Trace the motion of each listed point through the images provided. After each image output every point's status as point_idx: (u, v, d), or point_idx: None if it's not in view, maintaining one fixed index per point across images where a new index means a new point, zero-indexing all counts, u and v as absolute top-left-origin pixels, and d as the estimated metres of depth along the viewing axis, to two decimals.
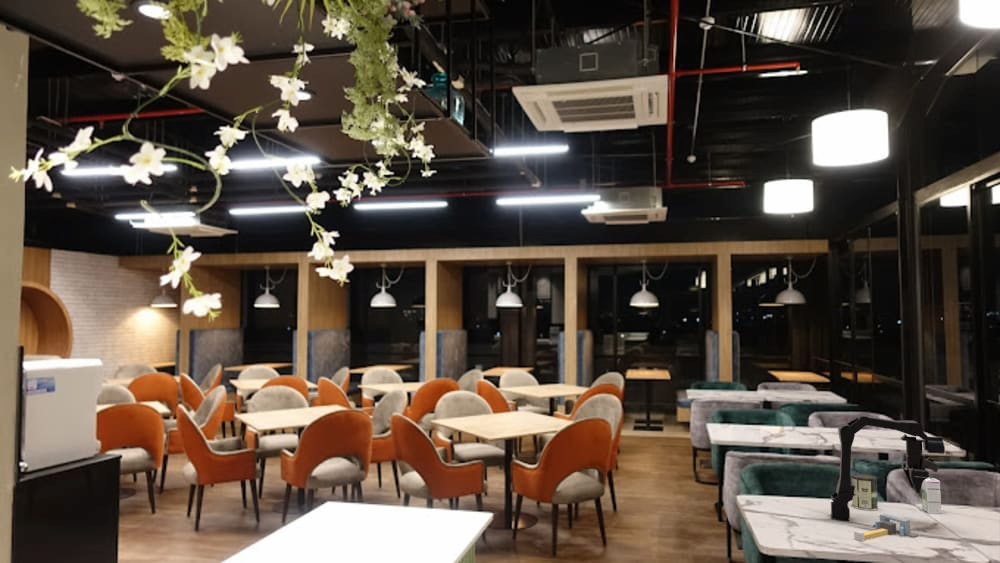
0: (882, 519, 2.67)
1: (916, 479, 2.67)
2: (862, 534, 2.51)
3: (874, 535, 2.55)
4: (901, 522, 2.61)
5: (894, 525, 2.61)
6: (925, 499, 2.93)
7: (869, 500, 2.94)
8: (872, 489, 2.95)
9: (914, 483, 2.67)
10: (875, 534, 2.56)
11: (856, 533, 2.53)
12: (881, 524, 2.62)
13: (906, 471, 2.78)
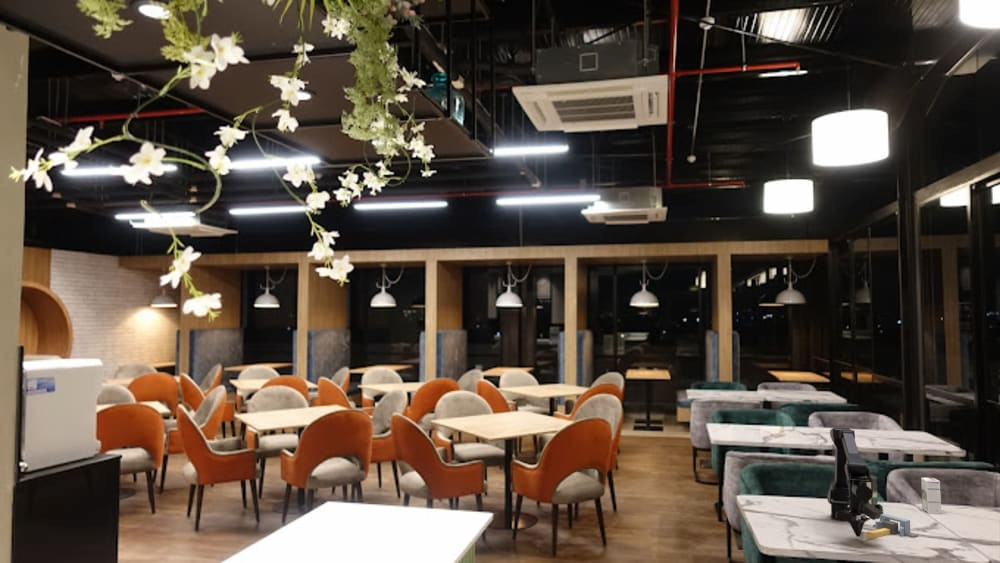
0: (882, 519, 2.67)
1: (853, 521, 2.53)
2: (864, 533, 2.52)
3: (876, 534, 2.56)
4: (901, 522, 2.61)
5: (896, 525, 2.61)
6: (925, 499, 2.93)
7: (869, 500, 2.94)
8: (872, 489, 2.95)
9: (851, 525, 2.53)
10: (877, 534, 2.56)
11: None
12: (883, 523, 2.63)
13: None
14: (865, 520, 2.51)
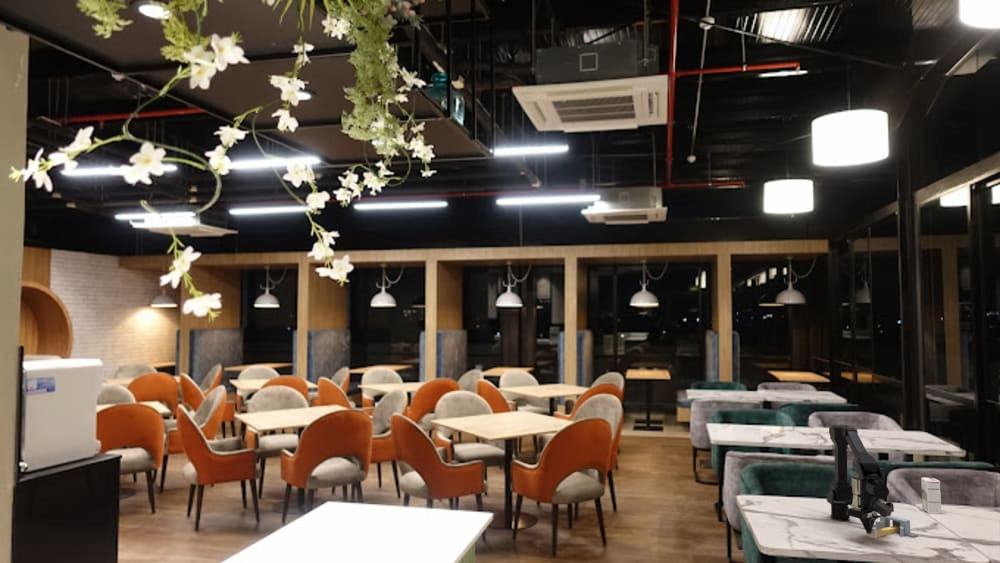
0: (882, 519, 2.67)
1: (864, 519, 2.56)
2: (875, 531, 2.55)
3: (886, 532, 2.59)
4: (901, 522, 2.61)
5: None
6: (925, 499, 2.93)
7: None
8: None
9: (862, 522, 2.56)
10: (888, 531, 2.60)
11: None
12: (893, 521, 2.66)
13: None
14: (876, 517, 2.54)
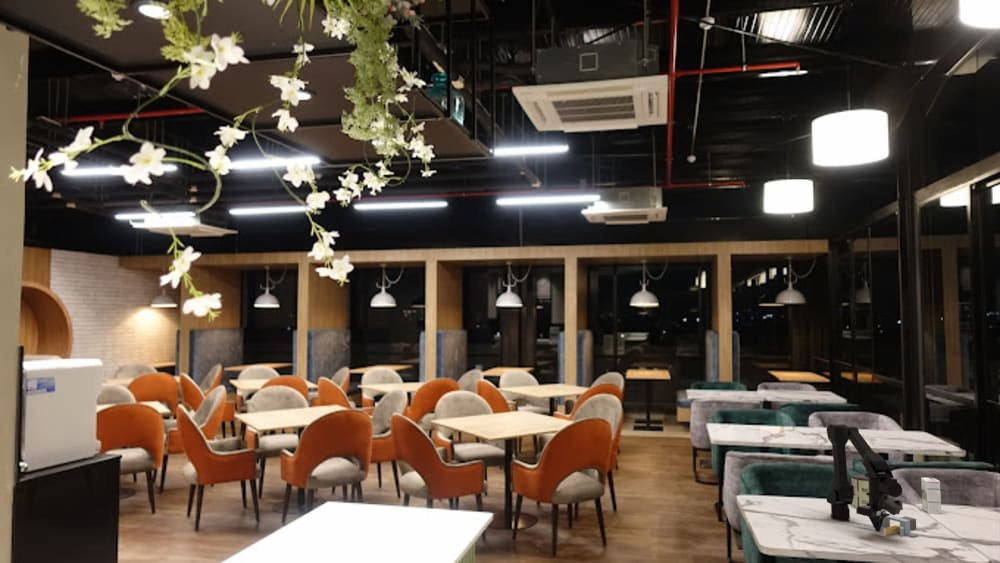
0: None
1: (873, 517, 2.59)
2: (884, 529, 2.58)
3: (895, 530, 2.62)
4: (901, 522, 2.61)
5: (914, 520, 2.67)
6: (925, 499, 2.93)
7: None
8: None
9: (871, 520, 2.59)
10: (896, 529, 2.62)
11: None
12: None
13: None
14: (885, 516, 2.57)
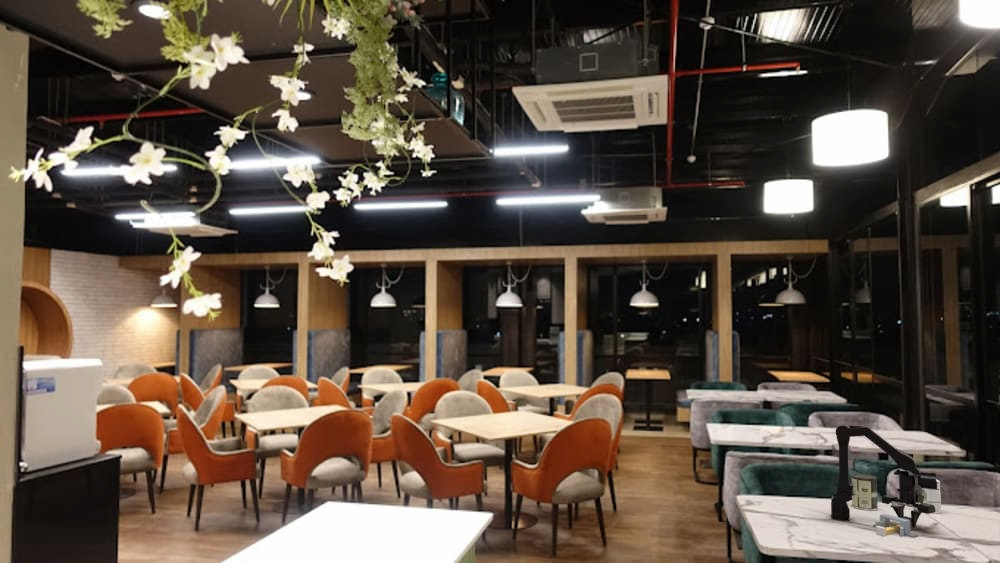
0: (882, 519, 2.67)
1: (915, 514, 2.66)
2: (884, 529, 2.58)
3: (895, 530, 2.62)
4: (901, 522, 2.61)
5: None
6: (925, 499, 2.93)
7: (869, 500, 2.94)
8: (872, 489, 2.95)
9: (914, 518, 2.65)
10: (896, 529, 2.63)
11: (878, 528, 2.59)
12: None
13: (898, 508, 2.71)
14: (904, 506, 2.73)
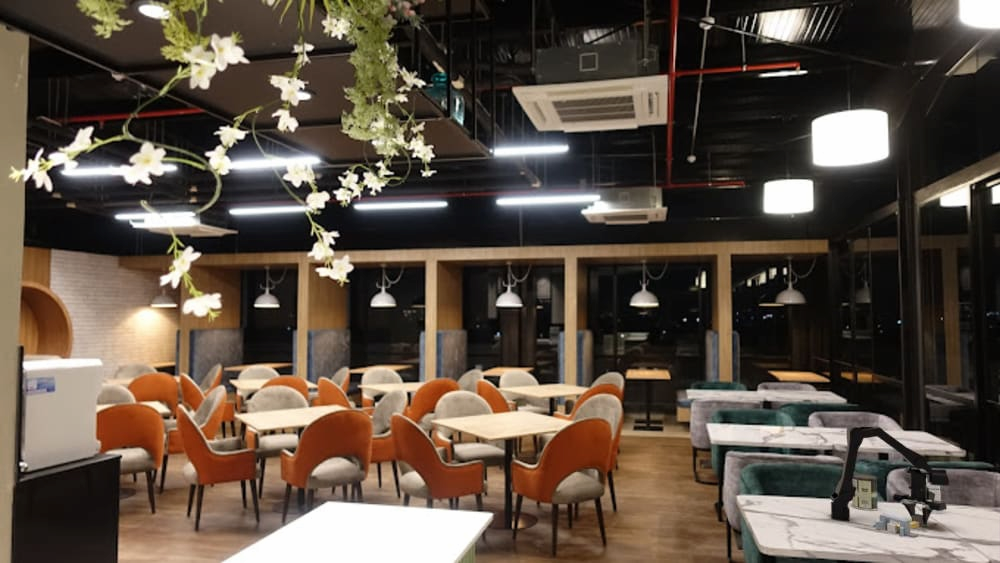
0: (882, 519, 2.67)
1: None
2: (895, 526, 2.62)
3: None
4: (901, 522, 2.61)
5: None
6: None
7: (869, 500, 2.94)
8: (872, 489, 2.95)
9: (926, 515, 2.69)
10: None
11: (889, 525, 2.63)
12: (912, 517, 2.73)
13: (909, 505, 2.75)
14: (915, 504, 2.77)
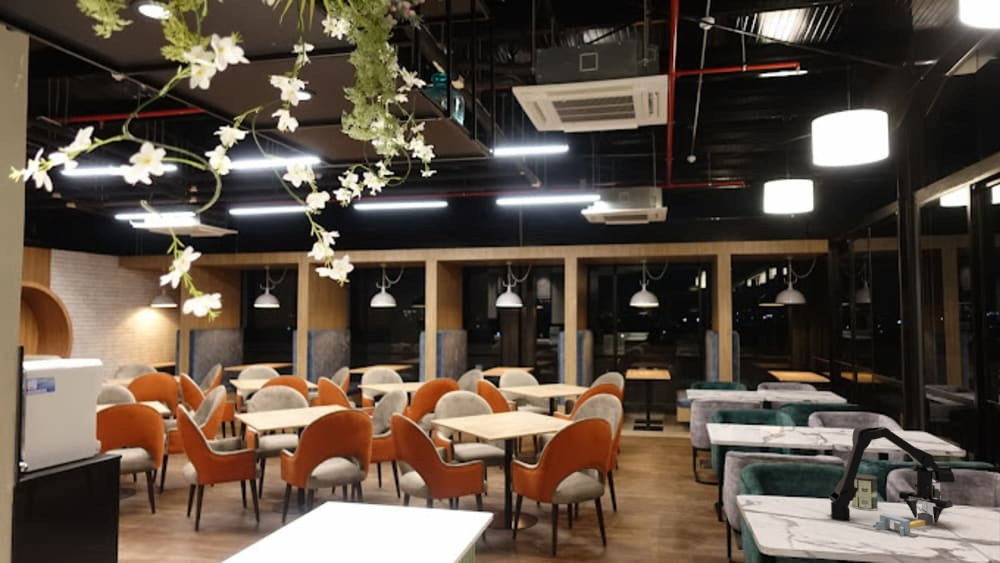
0: (882, 519, 2.67)
1: (937, 509, 2.71)
2: None
3: (912, 525, 2.69)
4: (901, 522, 2.61)
5: (931, 516, 2.74)
6: None
7: (869, 500, 2.94)
8: (872, 489, 2.95)
9: (937, 514, 2.70)
10: (913, 525, 2.69)
11: (896, 524, 2.66)
12: (918, 515, 2.76)
13: (911, 502, 2.79)
14: (917, 500, 2.81)
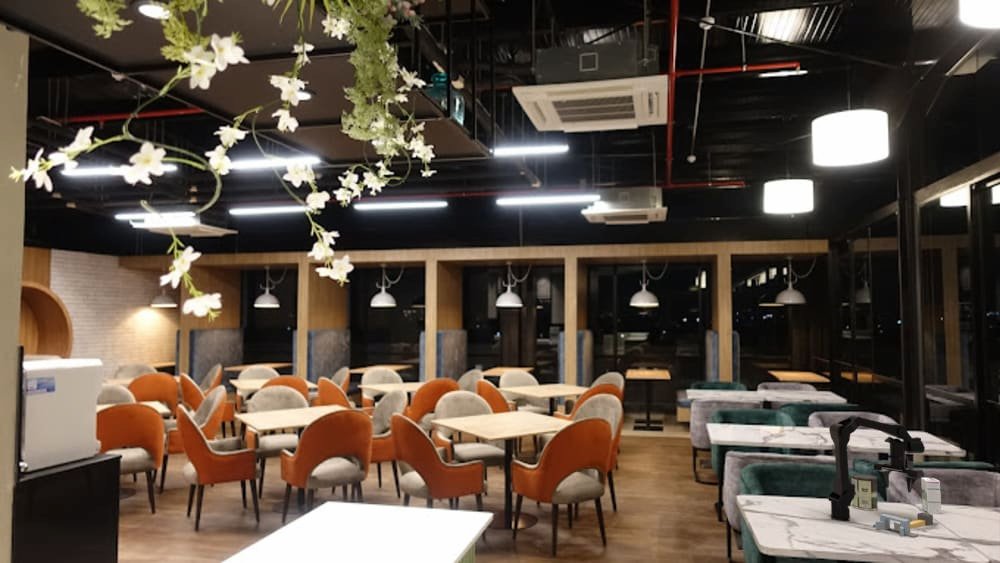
0: (882, 519, 2.67)
1: None
2: None
3: (912, 525, 2.69)
4: (901, 522, 2.61)
5: (931, 516, 2.74)
6: (925, 499, 2.93)
7: (869, 500, 2.94)
8: (872, 489, 2.95)
9: (910, 484, 2.77)
10: (913, 525, 2.69)
11: (896, 524, 2.66)
12: (918, 515, 2.76)
13: (883, 473, 2.87)
14: (889, 471, 2.89)
